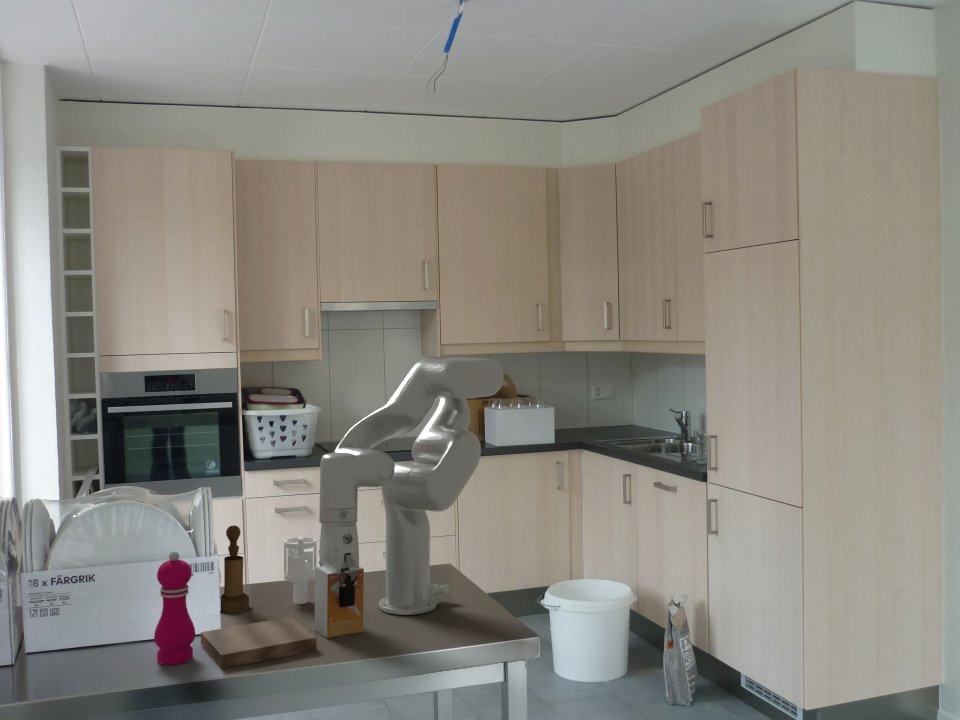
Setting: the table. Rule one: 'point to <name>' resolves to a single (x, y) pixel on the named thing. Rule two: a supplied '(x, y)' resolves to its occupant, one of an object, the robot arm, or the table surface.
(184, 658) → the pepper mill
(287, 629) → the walnut board
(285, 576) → the white slotted cylindrical holder
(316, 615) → the small box
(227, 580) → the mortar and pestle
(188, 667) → the table surface
